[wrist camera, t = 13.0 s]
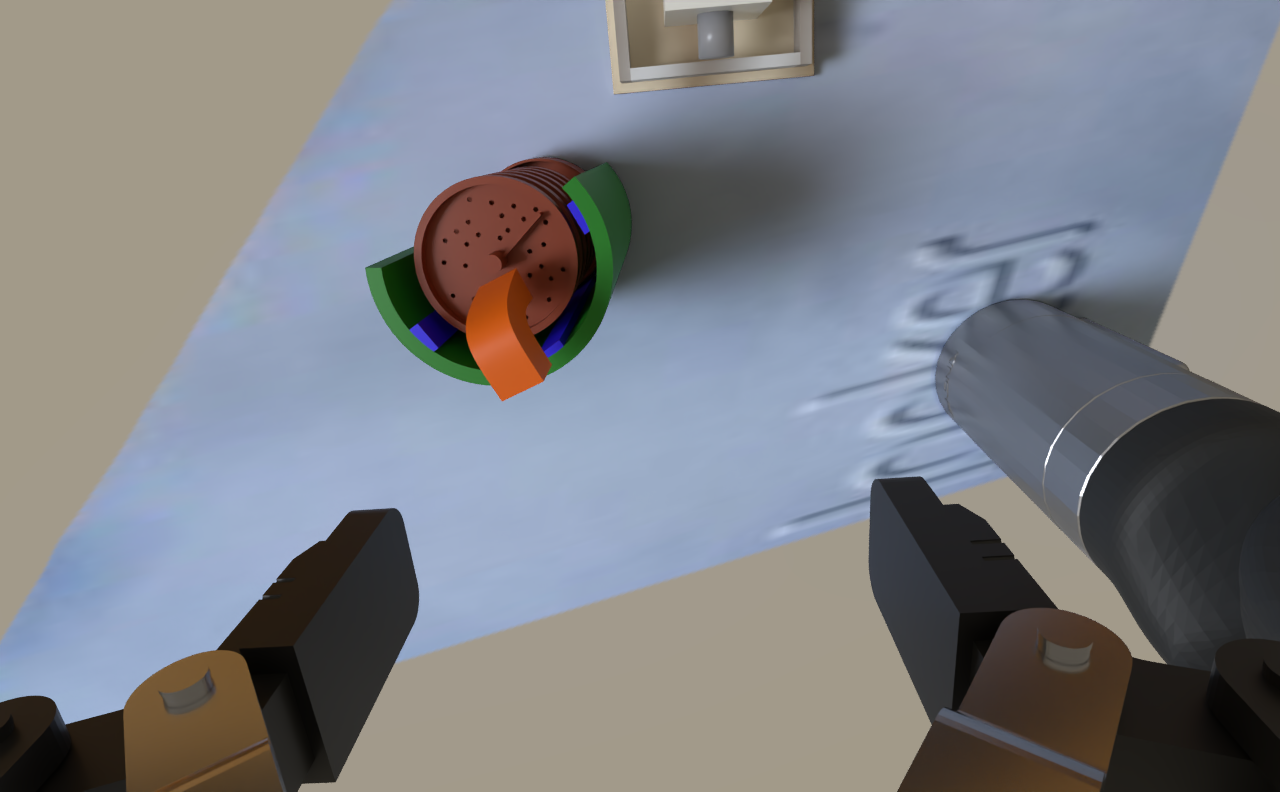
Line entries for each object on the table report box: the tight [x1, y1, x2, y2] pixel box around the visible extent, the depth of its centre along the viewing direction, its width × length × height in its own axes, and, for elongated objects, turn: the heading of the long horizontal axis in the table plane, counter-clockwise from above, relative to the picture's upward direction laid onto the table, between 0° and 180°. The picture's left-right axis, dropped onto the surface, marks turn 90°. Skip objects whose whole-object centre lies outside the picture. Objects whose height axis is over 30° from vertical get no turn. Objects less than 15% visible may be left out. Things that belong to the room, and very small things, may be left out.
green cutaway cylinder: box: [365, 157, 632, 401], centre depth 35 cm, size 10×9×20 cm
